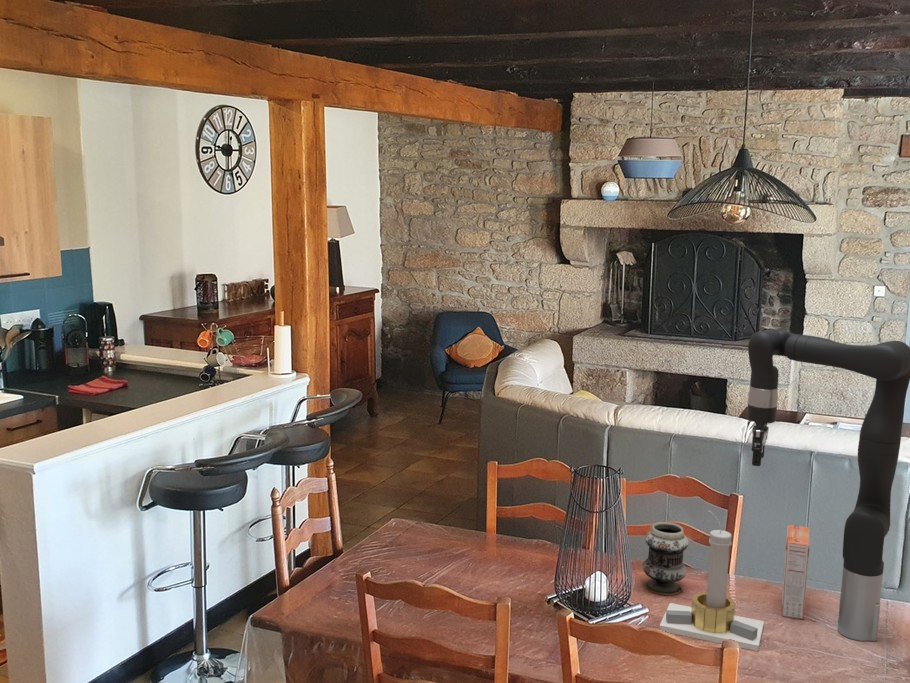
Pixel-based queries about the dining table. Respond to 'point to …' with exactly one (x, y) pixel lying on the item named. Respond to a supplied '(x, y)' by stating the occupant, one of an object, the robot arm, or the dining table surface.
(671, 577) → the apothecary jar
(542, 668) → the dining table surface
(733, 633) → the shaft base
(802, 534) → the cracker box
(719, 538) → the pipe
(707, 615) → the collar
